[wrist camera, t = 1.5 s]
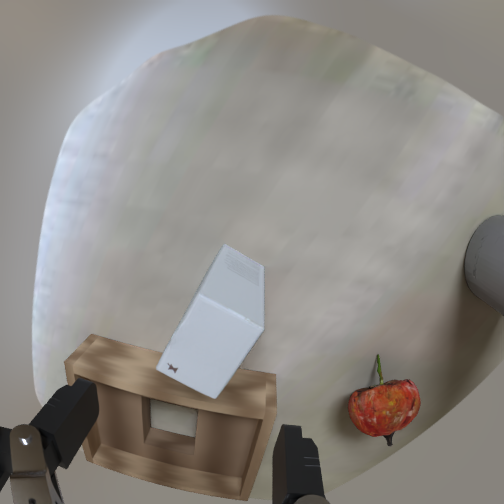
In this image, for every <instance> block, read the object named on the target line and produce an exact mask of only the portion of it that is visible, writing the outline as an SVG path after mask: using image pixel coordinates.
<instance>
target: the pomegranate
mask: <svg viewBox="0 0 504 504" xmlns="http://www.w3.org/2000/svg"><path fill="white" fill-rule="evenodd" d="M377 363H378V369H377V372H378V373H379V376H380V385H373V386H370V387H369V388H361V389H358V390H356V391H355V392H354V393H353V394H352V395H351V397H350V399H349V403H348V409H349V410H348V412H349V415H350V418H351V420H352V422H353V423H354V425H355V426H356V427H357V428H358V429H359V430H360V431H361V432H363V433H365V434H367V435H370V436H372V437H377V436H384V437H385V438H386V440H387V445H388V446H391V445H393V444H392V436H393V434H394V432H395V431H397V430H401V429H403V428H404V427H406V426H407V425H408V424H409V423H410V422H411V421H412V420H413V419H414V417H415V416H416V415H417V414H418V411H419V408H420V404H421V402H420V397H419V392H418V389H417V387H416V385H415V384H414V383H413V382H412V381H411V380H408V379H405V380H403V381H402V380H400V381H398V380H391V381H388V382H386V383H384V384H383V377H382V372H381V365H380V358H379V354H378V355H377ZM375 386H378V387H375Z"/></svg>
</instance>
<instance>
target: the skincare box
mask: <svg viewBox="0 0 504 504" xmlns="http://www.w3.org/2000/svg"><path fill="white" fill-rule="evenodd" d="M264 275H265V274H264V266H262V265H261V264H259V263H257V262H255V261H253V260H251V259H250V258H248V257H246V256H245V255H243V254H241V253H240V252H238V251H236V250H235V249H233V248H231V247H229V246H228V245H226V244H224V245H223V246H222V247H221V249H220V251H219V252H218V254H217V255H216V257H215V259H214V260H213V262H212V264H211V266H210V267H209V269H208V271H207V273H206V274H205V276H204V278H203V280H202V282H201V284H200V285H199V287H198V289H197V291H196V293H195V295H194V297H193V298H192V300H191V302H190V304H189V306H188V308H187V310H186V311H185V313H184V315H183V317H182V319H181V321H180V323H179V325H178V326H177V328H176V330H175V332H174V334H173V335H172V337H171V339H170V341H169V343H168V345H167V346H166V348H165V350H164V352H163V354H162V356H161V358H160V360H159V362H158V364H157V366H156V370H158V371H160V372H161V373H163V374H165V375H167V376H169V377H171V378H173V379H175V380H177V381H179V382H180V383H182V384H184V385H186V386H188V387H190V388H192V389H194V390H196V391H198V392H200V393H202V394H204V395H206V396H209V397H211V398H214V399H216V398H217V397H218V395H219V394H220V393H221V392H222V390H223V389H224V387H225V386H226V385H227V383H228V382H229V381H230V379H231V378H232V377H233V375H234V374H235V372H236V371H237V369H238V368H239V366H240V365H241V363H242V362H243V360H244V359H245V357H246V356H247V354H248V353H249V352H250V350H251V349H252V347H253V346H254V344H255V343H256V341H257V340H258V338H259V337H260V335H261V334H262V333H263V331H264V302H265V301H264V299H265V298H264V293H265V290H264V289H265V285H264V283H265V282H264V281H265V280H264V278H265V277H264Z"/></svg>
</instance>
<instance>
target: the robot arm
mask: <svg viewBox="0 0 504 504" xmlns="http://www.w3.org/2000/svg"><path fill="white" fill-rule="evenodd" d="M465 277H466V281H467V284H468V286H469V288H470V290H471V291H472V292H473V293H474V294H475V295H476V296H477V297H479V298H480V299H481V300H483V301H484V302H486V303H487V304H488V305H490V306H491V307H493V308H494V309H495V310H496V311H498V312H499V313H501V314H502V315H503V316H504V215H496V216H492V217H490V218H489V219H487V220H485V221H484V222H483V223H482V224H481V225H480V226H479V227H478V229H477V230H476V231H475V233H474V235H473V236H472V238H471V240H470V243H469V246H468V249H467V252H466V258H465ZM98 415H99V401H98V394H97V387H96V384H95V383H94V382H91V381H88V380H85V379H82V378H78V379H77V380H76V381H75V382H74V384H73V385H72V386H69V385H65V386H64V387H62V388H60V389H58V390H57V391H56V392H55V393H54V395H53V396H52V398H50V399H49V401H48V402H47V404H45V405H44V407H43V408H42V409H41V410H40V412H39V413H38V414H37V415H36V416H35V418H34V419H33V420H32V421H31V423H30V424H29V425H27V424H21V425H18V426H16V427H14V428H13V429H9V428H4V427H0V491H1V490H2V488H3V486H4V485H5V483H6V481H7V480H8V478H9V476H10V484H11V490H12V496H13V502H14V504H64V501H63V497H62V494H61V490H60V487H59V483H58V479H57V475H56V472H55V470H56V469H57V467H58V466H60V467H63V468H65V469H67V468H68V467H69V465H70V463H71V461H72V460H73V458H74V456H75V455H76V453H77V451H78V450H79V448H80V446H81V445H82V443H83V442H84V440H85V438H86V437H87V435H88V433H89V432H90V430H91V428H92V427H93V425H94V424H95V422H96V420H97V418H98ZM11 473H12V474H11ZM272 501H273V504H330V503H329V501H328V500H326V498H325V495H324V489H323V482H322V475H321V468H320V461H319V455H318V448H317V446H316V445H315V443H314V442H313V440H312V439H311V438H302V430H301V426H296V425H285V424H283V425H282V426H281V429H280V432H279V435H278V438H277V441H276V444H275V447H274V451H273V494H272Z"/></svg>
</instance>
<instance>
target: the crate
mask: <svg viewBox="0 0 504 504" xmlns="http://www.w3.org/2000/svg"><path fill="white" fill-rule="evenodd" d="M162 354H163V353H161V352H157V351H152V350H148V349H144V348H140V347H137V346H133V345H129V344H125V343H122V342H118V341H114V340H111V339H107V338H104V337H101V336H97V335H94V334H91V335H90V336H89V337H88V338H87V339H86V340H85V341H84V342H83V343H82V344H81V345H80V346H79V347H78V348H77V349H76V350H75V351H74V352H73V353H72V354H71V355H70V356H69V357H68V358H67V359H66V360H65V361H64V364H65V370H66V376H67V382H68V385H69V386H72V385H73V384H74V382H75V381H76V380H77V379H78V378H82V379H85V380H88V381H91V382H94V383H95V384H96V387H97V394H98V401H99V415H98V418H97V420H96V422H95V424H94V425H93V427H92V428H91V430H90V432H89V433H88V435H87V437H86V438H85V440H84V442H83V443H82V446H83V450H84V453H85V456H86V460H87V461H89V462H92V463H94V464H97V465H99V466H102V467H105V468H108V469H110V470H113V471H117V472H119V473H122V474H125V475H128V476H131V477H135V478H138V479H141V480H145V481H148V482H152V483H156V484H159V485H164V486H167V487H171V488H175V489H180V490H184V491H189V492H194V493H199V494H204V495H210V496H216V497H223V498H228V499H235V500H243V501H248V498H249V495H250V493H251V490H252V487H253V484H254V481H255V478H256V476H257V473H258V470H259V467H260V464H261V461H262V458H263V455H264V452H265V449H266V446H267V443H268V440H269V437H270V434H271V431H272V427H273V424H274V421H275V418H276V415H277V396H276V374H271V373H264V372H258V371H251V370H245V369H239V368H238V369H237V371H236V372H235V374H234V375H233V377H232V378H231V379H230V381H229V382H228V383H227V385H226V386H225V387H224V389H223V390H222V392H221V393H220V394H219V395H218V397H217V398H216V399H214V398H211V397H209V396H206V395H204V394H202V393H200V392H198V391H196V390H194V389H192V388H190V387H188V386H186V385H184V384H182V383H180V382H179V381H177V380H175V379H173V378H171V377H169V376H167V375H165V374H163V373H161V372H160V371H158V370H156V366H157V364H158V362H159V360H160V358H161V356H162ZM150 398H151V399H155V400H159V401H163V402H167V403H171V404H175V405H179V406H184V407H188V408H193V409H198V419H197V429H196V438H194V437H189V436H185V435H180V434H176V433H172V432H168V431H164V430H160V429H156V428H152V427H151V417H150Z"/></svg>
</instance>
